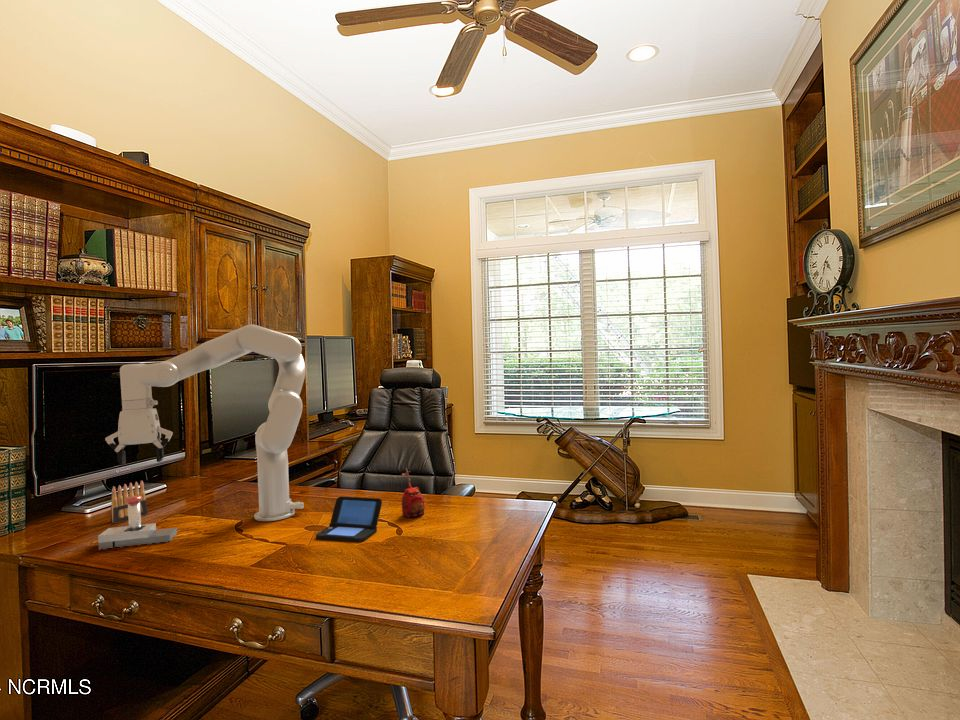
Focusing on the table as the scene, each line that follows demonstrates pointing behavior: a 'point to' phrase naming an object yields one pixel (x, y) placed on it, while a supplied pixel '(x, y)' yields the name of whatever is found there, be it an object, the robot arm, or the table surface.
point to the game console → (352, 519)
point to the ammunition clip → (119, 502)
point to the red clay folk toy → (412, 501)
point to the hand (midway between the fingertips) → (141, 462)
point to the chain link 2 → (150, 538)
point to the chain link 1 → (123, 535)
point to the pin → (134, 512)
